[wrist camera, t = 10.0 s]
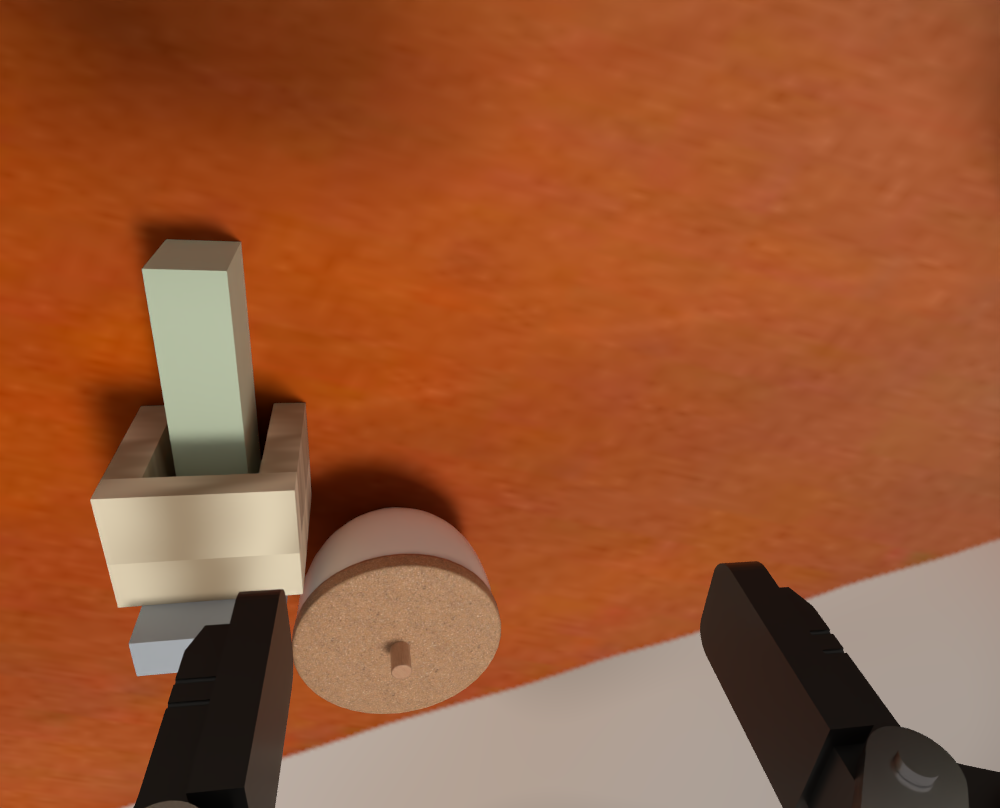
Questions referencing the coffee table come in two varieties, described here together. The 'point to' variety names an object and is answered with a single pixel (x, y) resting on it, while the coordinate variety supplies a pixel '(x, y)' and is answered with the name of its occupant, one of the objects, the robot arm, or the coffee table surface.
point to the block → (204, 517)
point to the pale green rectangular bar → (204, 355)
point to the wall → (172, 632)
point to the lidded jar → (394, 614)
